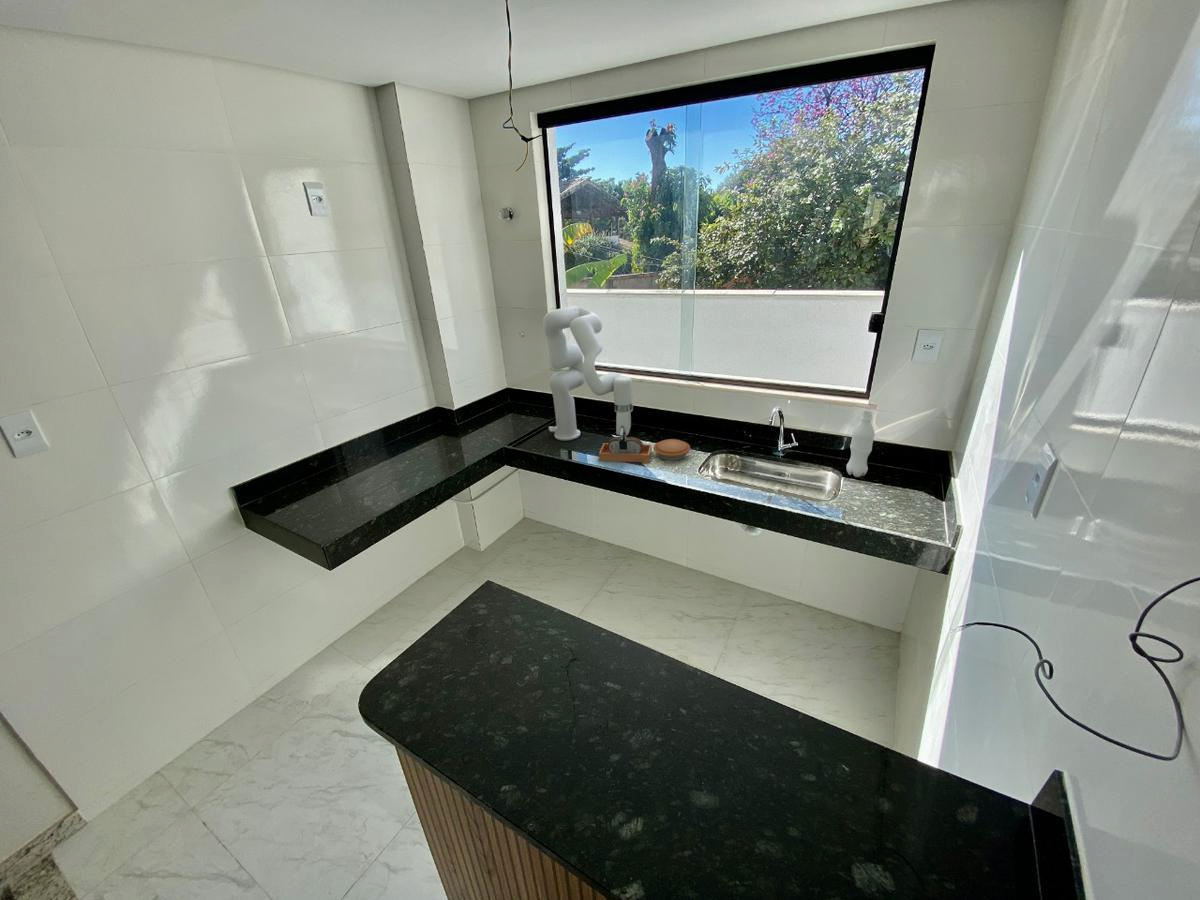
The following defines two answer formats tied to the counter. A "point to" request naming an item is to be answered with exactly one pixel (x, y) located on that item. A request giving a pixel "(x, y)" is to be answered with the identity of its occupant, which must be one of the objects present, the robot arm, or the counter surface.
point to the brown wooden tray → (625, 455)
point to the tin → (632, 446)
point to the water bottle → (861, 446)
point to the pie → (672, 449)
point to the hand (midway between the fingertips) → (625, 444)
